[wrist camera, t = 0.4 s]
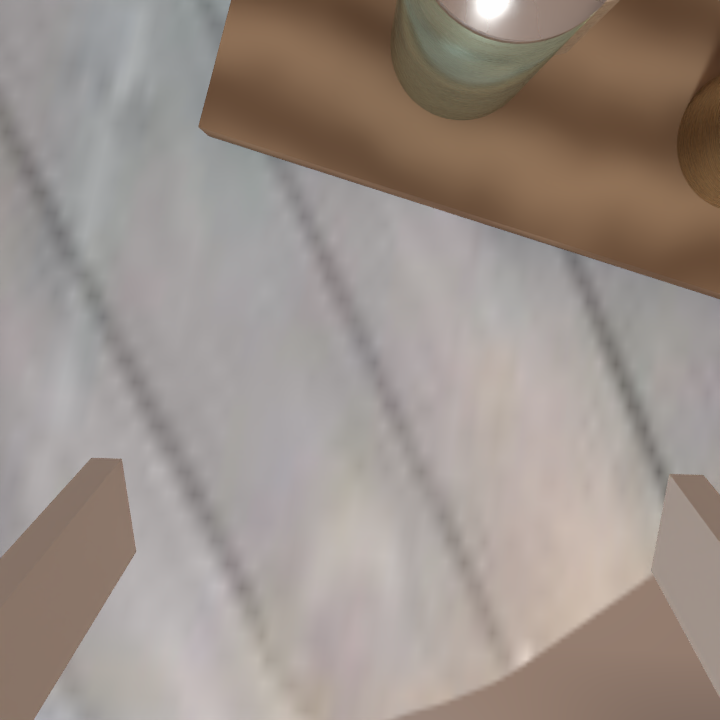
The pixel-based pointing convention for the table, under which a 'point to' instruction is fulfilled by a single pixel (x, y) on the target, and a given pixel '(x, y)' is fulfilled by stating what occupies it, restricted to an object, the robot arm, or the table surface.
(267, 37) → the wooden tray
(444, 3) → the green tin
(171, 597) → the table surface
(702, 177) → the mustard tin
